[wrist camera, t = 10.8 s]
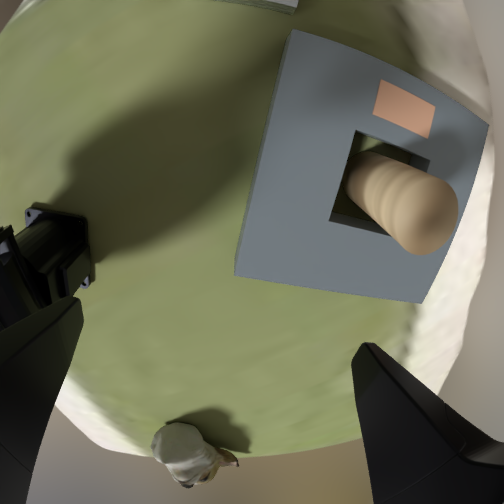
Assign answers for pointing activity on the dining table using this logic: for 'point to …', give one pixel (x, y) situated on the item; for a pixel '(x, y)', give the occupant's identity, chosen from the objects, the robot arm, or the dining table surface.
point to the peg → (402, 201)
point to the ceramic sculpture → (189, 454)
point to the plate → (270, 4)
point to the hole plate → (332, 167)
